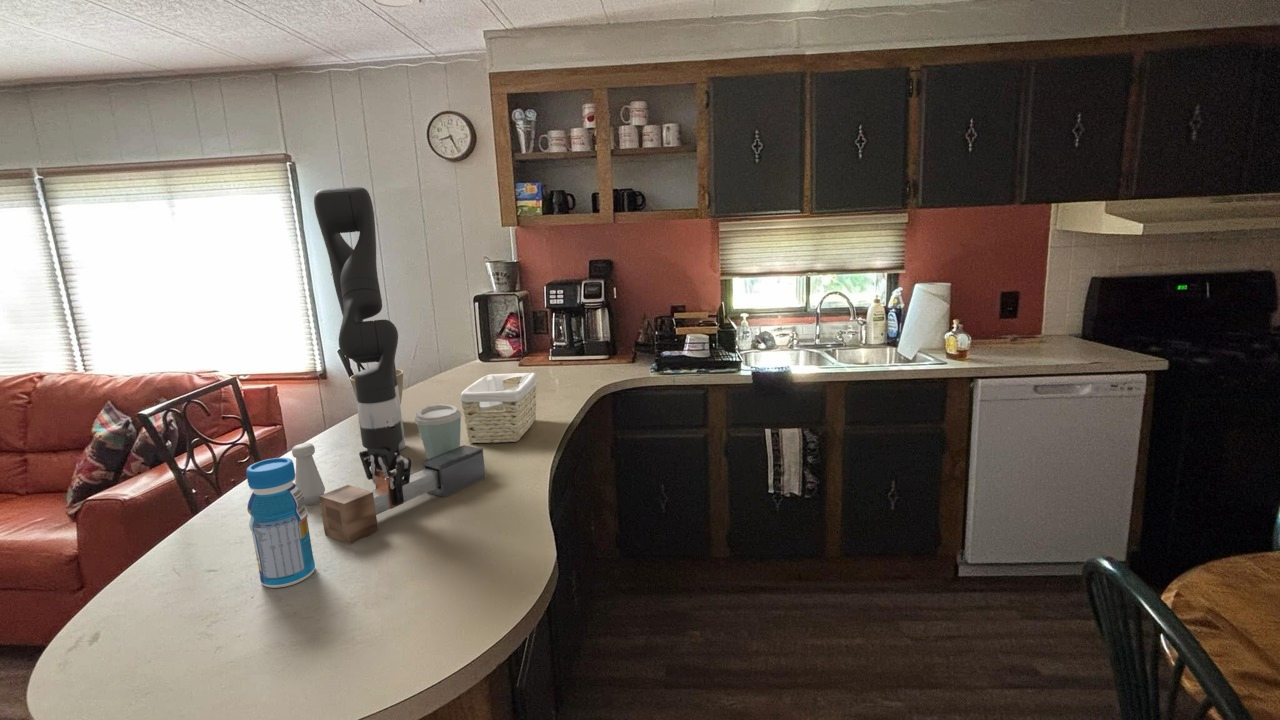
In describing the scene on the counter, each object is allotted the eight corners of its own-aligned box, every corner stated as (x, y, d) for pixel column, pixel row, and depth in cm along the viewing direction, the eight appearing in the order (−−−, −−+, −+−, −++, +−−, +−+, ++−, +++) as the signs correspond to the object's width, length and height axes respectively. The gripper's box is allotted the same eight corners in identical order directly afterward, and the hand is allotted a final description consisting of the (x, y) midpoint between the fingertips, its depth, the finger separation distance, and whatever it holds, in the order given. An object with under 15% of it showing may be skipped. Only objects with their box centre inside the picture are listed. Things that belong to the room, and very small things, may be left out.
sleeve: (467, 473, 151) (463, 445, 149) (485, 478, 147) (482, 448, 146) (425, 492, 141) (421, 461, 139) (444, 497, 138) (441, 466, 136)
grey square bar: (442, 477, 143) (439, 450, 142) (455, 480, 141) (452, 453, 140) (358, 513, 126) (354, 483, 125) (371, 517, 124) (366, 487, 123)
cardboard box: (353, 522, 127) (347, 484, 126) (378, 530, 123) (372, 491, 122) (325, 535, 122) (318, 495, 121) (350, 544, 118) (344, 503, 117)
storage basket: (489, 420, 195) (485, 372, 192) (542, 418, 193) (538, 371, 190) (463, 446, 171) (457, 393, 168) (522, 444, 170) (518, 391, 167)
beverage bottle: (277, 595, 102) (256, 477, 98) (249, 582, 107) (228, 468, 103) (327, 570, 109) (309, 459, 105) (299, 559, 114) (281, 452, 110)
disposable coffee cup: (475, 466, 155) (469, 407, 152) (435, 480, 148) (428, 418, 145) (452, 457, 162) (446, 400, 159) (412, 470, 155) (405, 410, 152)
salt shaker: (332, 498, 140) (323, 441, 137) (309, 509, 135) (300, 450, 132) (314, 495, 142) (305, 439, 140) (290, 505, 137) (281, 447, 135)
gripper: (341, 421, 127) (353, 502, 130) (386, 431, 119) (397, 516, 123) (374, 412, 133) (384, 489, 137) (419, 420, 126) (429, 501, 129)
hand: (390, 501), depth 130 cm, fingers closed on grey square bar, 4 cm apart
